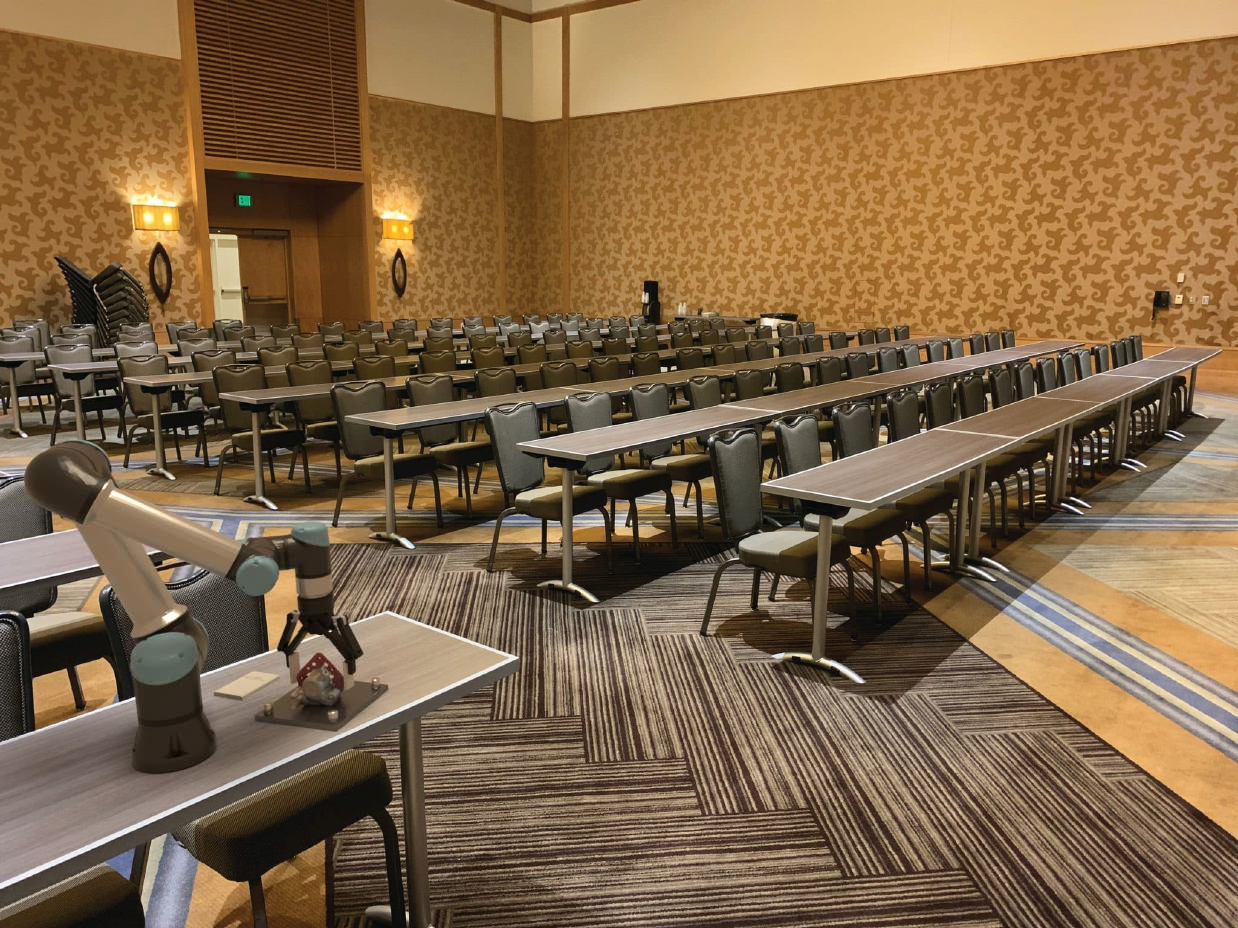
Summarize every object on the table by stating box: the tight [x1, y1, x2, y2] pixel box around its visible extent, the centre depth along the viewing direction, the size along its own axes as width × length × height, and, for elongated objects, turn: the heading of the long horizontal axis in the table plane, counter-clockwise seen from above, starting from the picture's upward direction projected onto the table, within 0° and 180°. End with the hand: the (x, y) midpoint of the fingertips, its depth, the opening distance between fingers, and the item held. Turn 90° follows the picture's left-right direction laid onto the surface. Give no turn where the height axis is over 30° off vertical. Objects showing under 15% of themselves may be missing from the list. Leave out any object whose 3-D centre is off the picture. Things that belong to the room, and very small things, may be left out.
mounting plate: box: [254, 671, 389, 732], centre depth 202 cm, size 20×21×3 cm
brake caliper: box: [290, 651, 344, 709], centre depth 200 cm, size 11×11×12 cm
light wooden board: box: [213, 670, 281, 701], centre depth 212 cm, size 2×8×12 cm
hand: (322, 684), depth 202 cm, fingers open, 13 cm apart
